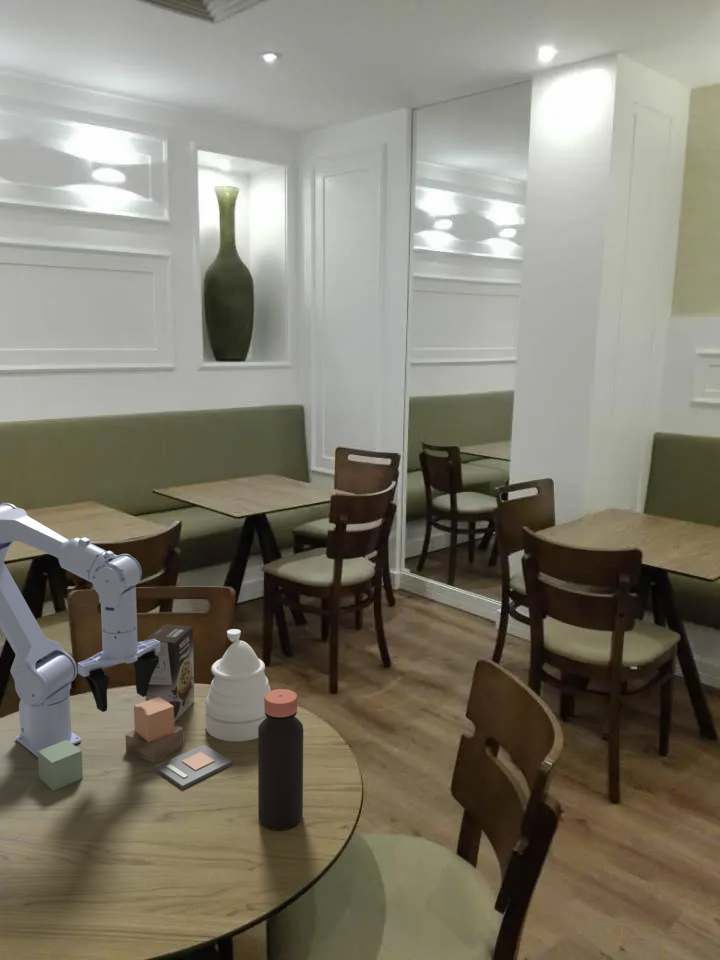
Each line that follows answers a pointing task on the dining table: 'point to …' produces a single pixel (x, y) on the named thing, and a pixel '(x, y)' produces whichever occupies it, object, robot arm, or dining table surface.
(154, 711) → the terracotta block
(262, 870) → the dining table surface
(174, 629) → the coffee box
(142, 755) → the walnut base
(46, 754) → the sage block
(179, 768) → the card
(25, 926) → the dining table surface
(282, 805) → the bottle
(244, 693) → the honey pot
